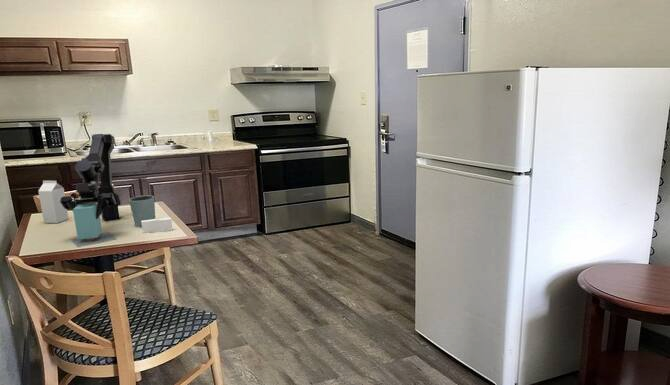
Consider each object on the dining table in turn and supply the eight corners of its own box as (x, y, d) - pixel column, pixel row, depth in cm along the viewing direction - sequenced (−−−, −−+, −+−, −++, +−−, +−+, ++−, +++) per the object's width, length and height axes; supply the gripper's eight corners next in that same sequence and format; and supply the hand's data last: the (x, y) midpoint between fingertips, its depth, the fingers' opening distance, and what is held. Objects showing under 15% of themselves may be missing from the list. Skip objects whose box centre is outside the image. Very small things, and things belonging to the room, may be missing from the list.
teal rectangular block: (83, 234, 185) (78, 205, 182) (102, 232, 186) (97, 203, 183) (77, 239, 178) (72, 209, 175) (97, 237, 179) (92, 207, 177)
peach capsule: (94, 237, 185) (93, 227, 184) (96, 239, 182) (95, 229, 181) (84, 239, 182) (83, 229, 182) (86, 241, 180) (85, 231, 179)
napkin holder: (134, 235, 188) (132, 222, 186) (152, 227, 198) (150, 214, 197) (166, 237, 184) (164, 223, 182) (182, 229, 194) (181, 216, 193)
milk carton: (57, 223, 209) (50, 182, 205) (43, 223, 211) (36, 182, 207) (68, 219, 216) (62, 179, 212) (55, 219, 218) (49, 179, 214)
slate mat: (109, 232, 191) (108, 232, 191) (117, 239, 181) (117, 238, 181) (70, 240, 183) (70, 239, 183) (77, 248, 173) (77, 247, 173)
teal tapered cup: (161, 221, 206) (158, 195, 204) (151, 227, 197) (148, 200, 194) (138, 221, 207) (135, 195, 204) (128, 228, 197) (124, 200, 194)
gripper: (57, 176, 179) (52, 210, 171) (109, 172, 183) (106, 206, 174) (67, 192, 188) (62, 225, 180) (117, 188, 192) (114, 221, 184)
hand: (86, 219), depth 179 cm, fingers closed on teal rectangular block, 7 cm apart
